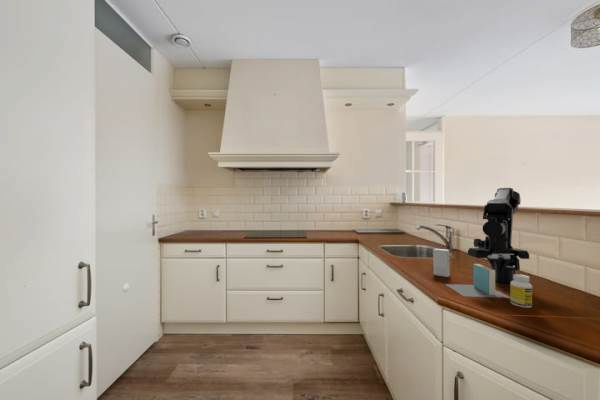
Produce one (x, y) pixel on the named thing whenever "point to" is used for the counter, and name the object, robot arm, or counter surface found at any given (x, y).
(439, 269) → the skincare box
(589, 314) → the counter surface
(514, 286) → the supplement bottle
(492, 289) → the tile
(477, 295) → the mat
